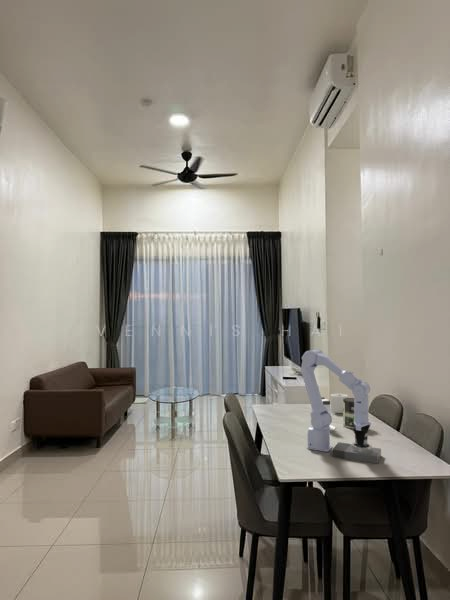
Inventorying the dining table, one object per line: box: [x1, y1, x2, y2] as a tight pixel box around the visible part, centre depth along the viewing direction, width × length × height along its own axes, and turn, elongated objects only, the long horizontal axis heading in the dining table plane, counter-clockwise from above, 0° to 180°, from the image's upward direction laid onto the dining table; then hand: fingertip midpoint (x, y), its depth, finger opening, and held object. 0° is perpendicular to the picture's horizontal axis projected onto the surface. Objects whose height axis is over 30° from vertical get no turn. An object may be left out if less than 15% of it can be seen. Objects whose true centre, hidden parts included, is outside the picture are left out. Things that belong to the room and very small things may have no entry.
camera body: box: [331, 441, 382, 465], centre depth 179 cm, size 18×11×5 cm, turn 62°
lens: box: [354, 432, 369, 447], centre depth 178 cm, size 5×5×6 cm
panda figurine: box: [321, 396, 336, 431], centre depth 224 cm, size 12×11×15 cm
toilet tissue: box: [330, 393, 349, 414], centre depth 260 cm, size 11×12×10 cm
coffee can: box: [342, 397, 356, 429], centre depth 227 cm, size 10×10×14 cm
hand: (361, 443), depth 178 cm, fingers closed on lens, 5 cm apart
